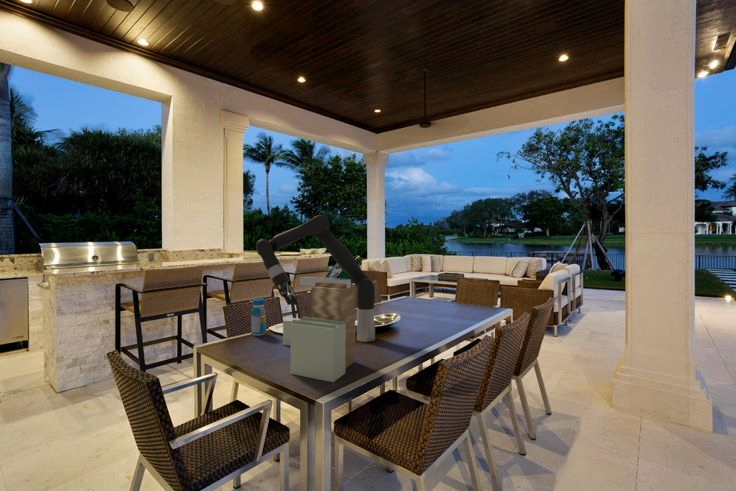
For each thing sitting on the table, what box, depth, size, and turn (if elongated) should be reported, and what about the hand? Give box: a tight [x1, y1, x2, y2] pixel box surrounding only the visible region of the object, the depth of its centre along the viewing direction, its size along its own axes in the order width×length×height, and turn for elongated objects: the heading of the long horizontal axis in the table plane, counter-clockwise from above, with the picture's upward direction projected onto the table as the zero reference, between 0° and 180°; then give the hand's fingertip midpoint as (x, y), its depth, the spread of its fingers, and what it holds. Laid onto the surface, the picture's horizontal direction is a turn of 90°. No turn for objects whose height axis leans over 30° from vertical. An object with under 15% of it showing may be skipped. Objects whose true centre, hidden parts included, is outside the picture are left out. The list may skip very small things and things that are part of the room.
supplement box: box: [282, 317, 302, 346], centre depth 185 cm, size 7×7×13 cm
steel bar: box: [299, 275, 352, 288], centre depth 157 cm, size 24×4×4 cm, turn 65°
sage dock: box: [289, 315, 346, 383], centre depth 145 cm, size 20×10×22 cm, turn 65°
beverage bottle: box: [250, 297, 267, 337], centre depth 203 cm, size 8×8×20 cm
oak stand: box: [311, 282, 356, 369], centre depth 156 cm, size 15×12×36 cm
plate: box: [268, 322, 283, 335], centre depth 213 cm, size 27×27×2 cm
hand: (293, 304), depth 172 cm, fingers open, 8 cm apart
